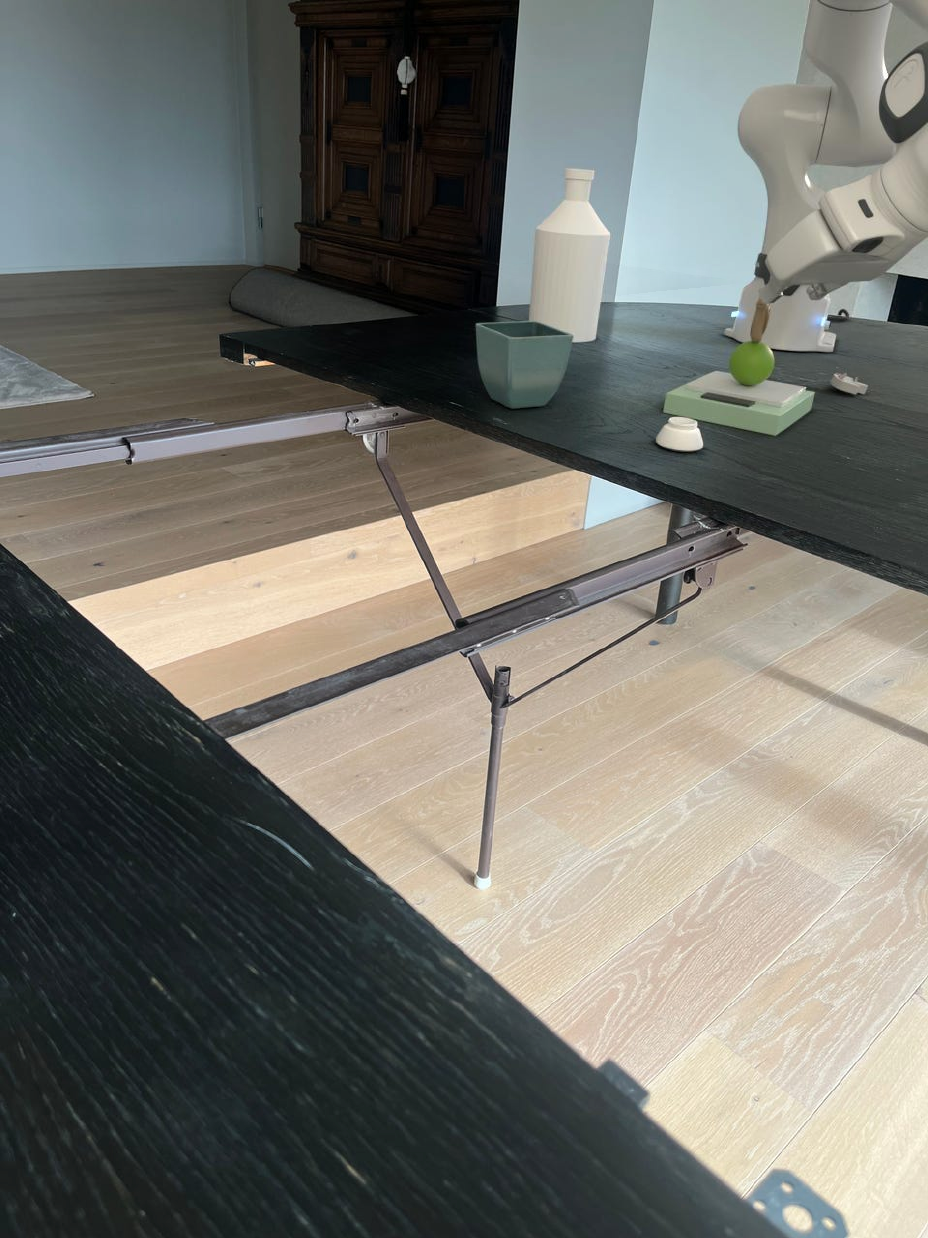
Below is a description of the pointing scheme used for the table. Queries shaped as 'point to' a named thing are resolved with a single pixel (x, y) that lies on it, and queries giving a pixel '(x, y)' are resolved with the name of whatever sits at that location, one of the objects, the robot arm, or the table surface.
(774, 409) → the scale
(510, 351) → the flower pot
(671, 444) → the lidless jar
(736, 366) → the snail figurine
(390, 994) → the table surface
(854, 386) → the game controller
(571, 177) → the bottle
